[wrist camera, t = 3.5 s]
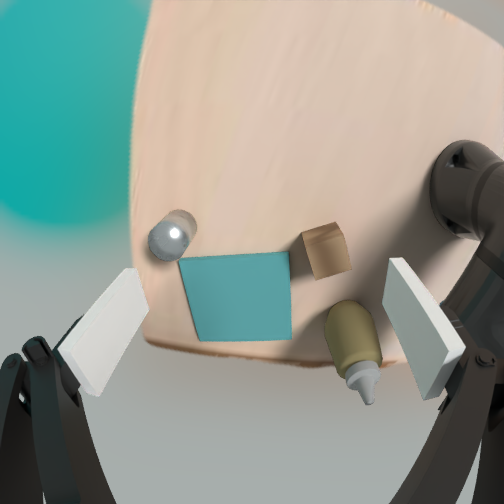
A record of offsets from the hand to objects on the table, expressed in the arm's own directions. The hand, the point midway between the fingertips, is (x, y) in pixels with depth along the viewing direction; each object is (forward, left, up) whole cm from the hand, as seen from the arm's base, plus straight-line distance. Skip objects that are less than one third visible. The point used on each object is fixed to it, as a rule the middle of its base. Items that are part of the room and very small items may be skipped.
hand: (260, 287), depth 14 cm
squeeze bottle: (-11, +22, -25) cm, 35 cm away
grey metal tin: (+13, +5, -24) cm, 28 cm away
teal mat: (+6, +18, -24) cm, 31 cm away
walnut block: (-7, +9, -25) cm, 27 cm away
